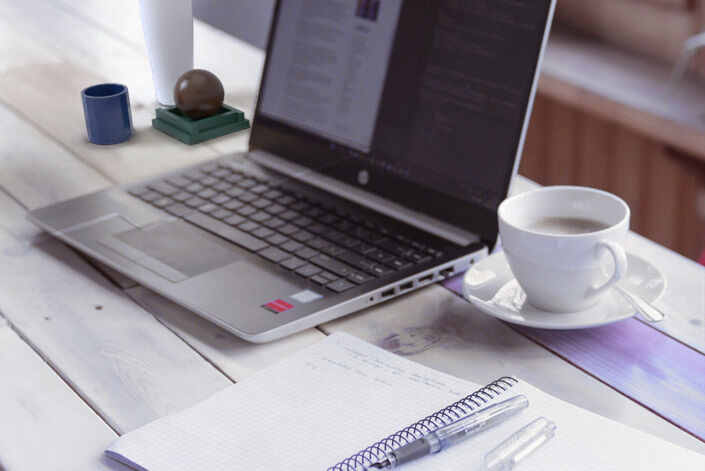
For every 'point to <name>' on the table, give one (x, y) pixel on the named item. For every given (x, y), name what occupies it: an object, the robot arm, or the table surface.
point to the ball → (198, 94)
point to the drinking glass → (168, 43)
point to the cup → (107, 113)
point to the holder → (199, 124)
